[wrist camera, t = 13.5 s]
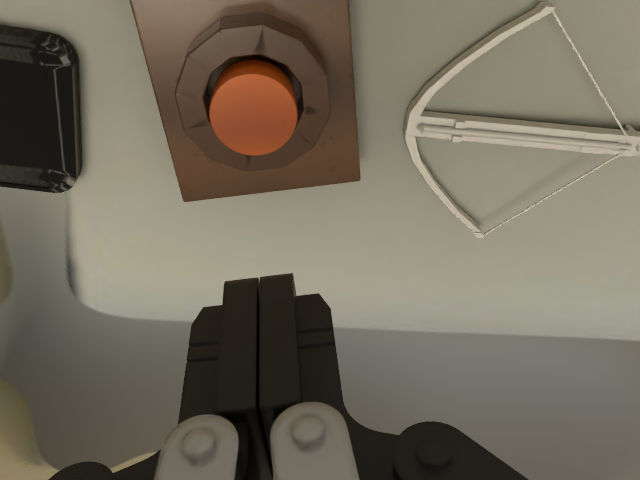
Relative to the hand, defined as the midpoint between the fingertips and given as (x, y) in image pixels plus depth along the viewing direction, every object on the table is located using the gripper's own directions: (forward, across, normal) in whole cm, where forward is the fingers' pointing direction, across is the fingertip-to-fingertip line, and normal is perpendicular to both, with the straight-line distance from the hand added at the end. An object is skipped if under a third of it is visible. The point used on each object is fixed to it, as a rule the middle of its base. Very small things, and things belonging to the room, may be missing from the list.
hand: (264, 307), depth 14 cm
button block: (+18, 0, +1) cm, 18 cm away
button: (+15, +1, +1) cm, 15 cm away
